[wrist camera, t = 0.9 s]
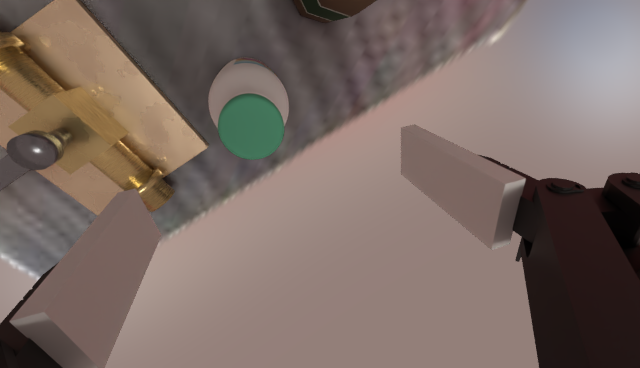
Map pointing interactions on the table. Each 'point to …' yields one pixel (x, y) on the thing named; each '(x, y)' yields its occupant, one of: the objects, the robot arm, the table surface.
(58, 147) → the lever
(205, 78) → the table surface
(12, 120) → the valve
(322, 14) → the beer bottle
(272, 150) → the milk bottle
